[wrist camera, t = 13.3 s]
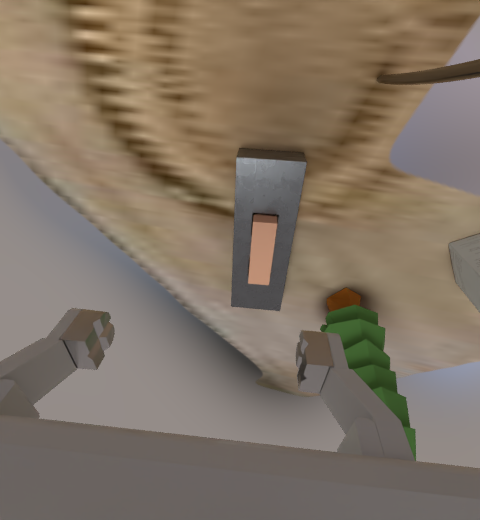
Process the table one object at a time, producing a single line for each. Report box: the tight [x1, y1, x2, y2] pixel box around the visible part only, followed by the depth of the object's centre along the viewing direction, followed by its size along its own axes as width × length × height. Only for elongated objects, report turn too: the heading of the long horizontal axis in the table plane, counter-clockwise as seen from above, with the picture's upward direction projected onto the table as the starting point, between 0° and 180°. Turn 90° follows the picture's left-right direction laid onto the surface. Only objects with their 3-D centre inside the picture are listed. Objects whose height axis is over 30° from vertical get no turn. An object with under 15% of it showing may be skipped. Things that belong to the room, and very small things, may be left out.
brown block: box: [248, 213, 277, 285], centre depth 40 cm, size 10×3×6 cm, turn 177°
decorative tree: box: [320, 288, 416, 461], centre depth 37 cm, size 10×9×30 cm
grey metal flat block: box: [231, 148, 307, 311], centre depth 41 cm, size 24×8×4 cm, turn 177°
